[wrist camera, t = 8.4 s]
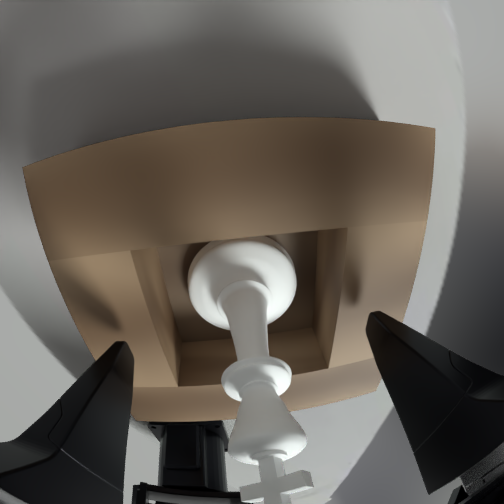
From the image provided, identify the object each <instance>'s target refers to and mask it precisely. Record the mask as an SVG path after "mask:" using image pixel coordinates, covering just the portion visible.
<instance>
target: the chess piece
mask: <svg viewBox="0 0 504 504" xmlns="http://www.w3.org/2000/svg"><path fill="white" fill-rule="evenodd" d="M296 286H297V280H296V274H295V268H294V264H293V261H292V259H291V257H290V256H289V254H288V253H287V251H286V250H285V249H284V248H283V247H282V246H281V245H280V244H278V243H277V242H276V241H274V240H272V239H270V238H268V237H266V236H254V237H245V238H235V239H226V240H217V241H211V242H210V243H208V244H207V245H205V246H204V247H203V248H202V249H201V250H200V251H199V252H198V253H197V255H196V256H195V257H194V259H193V261H192V263H191V265H190V268H189V272H188V292H189V297H190V300H191V303H192V305H193V307H194V308H195V310H196V311H197V312H198V314H199V315H200V316H201V317H202V318H204V319H205V320H206V321H208V322H209V323H211V324H213V325H215V326H217V327H220V328H223V329H226V330H230V331H231V335H232V338H233V342H234V346H235V350H236V355H237V359H238V361H237V362H235V363H233V364H231V365H230V366H229V367H228V368H227V369H226V370H225V371H224V372H223V374H222V377H221V383H222V386H223V388H224V390H225V392H226V394H227V395H228V396H230V397H231V398H233V399H235V400H237V401H241V403H240V406H239V409H238V412H237V418H236V422H235V425H234V428H233V431H232V433H231V436H230V439H229V443H228V453H229V454H230V456H231V457H232V458H234V459H235V460H237V461H240V462H242V463H246V464H255V465H259V471H260V477H261V482H259V483H255V484H251V485H247V486H242V487H240V496H241V502H247V503H255V502H260V501H264V503H265V504H291V500H290V495H289V494H293V493H296V492H300V491H303V490H306V489H310V488H313V487H314V486H313V482H312V478H311V474H310V472H308V471H304V470H300V471H297V472H294V473H291V474H288V475H285V470H284V465H283V461H285V460H287V459H289V458H292V457H294V456H295V455H297V454H298V453H300V452H301V451H302V450H303V449H304V448H305V446H306V444H307V436H306V434H305V432H304V431H303V429H302V428H301V426H300V425H299V423H298V422H297V421H296V420H295V419H294V418H293V416H292V415H291V414H290V412H289V411H288V409H287V407H286V405H285V403H284V402H283V401H282V400H281V398H280V397H279V396H280V395H281V394H282V393H284V392H285V391H286V390H287V389H288V387H289V385H290V383H291V376H292V372H291V369H290V367H289V365H288V364H287V363H286V362H284V361H283V360H281V359H278V358H275V357H270V356H269V349H268V333H267V325H268V324H270V323H272V322H273V321H275V320H276V319H278V318H279V317H280V316H281V315H282V314H283V313H284V312H285V311H286V310H287V309H288V307H289V306H290V304H291V303H292V301H293V298H294V296H295V292H296Z"/></svg>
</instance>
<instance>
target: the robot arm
mask: <svg viewBox="0 0 504 504" xmlns="http://www.w3.org/2000/svg"><path fill="white" fill-rule="evenodd" d="M365 331H366V336H367V339H368V341H369V344H370V347H371V350H372V353H373V356H374V359H375V362H376V365H377V368H378V370H379V372H380V374H381V376H382V379H383V381H384V383H385V385H386V388H387V390H388V392H389V394H390V397H391V399H392V401H393V404H394V406H395V408H396V411H397V413H398V415H399V418H400V420H401V423H402V425H403V428H404V430H405V432H406V435H407V438H408V440H409V443H410V445H411V448H412V450H413V452H414V456H415V458H416V461H417V464H418V467H419V470H420V472H421V475H422V478H423V481H424V484H425V487H426V490H427V492H428V494H429V495H430V494H431V493H433V492H435V491H437V490H438V489H440V488H442V487H443V486H445V485H447V484H448V483H450V482H452V481H453V480H455V479H456V478H458V477H459V479H460V481H461V483H462V485H460V486H459V487H457V488H456V489H454V490H453V492H452V494H451V497H450V499H449V502H448V504H504V376H503V375H500V374H497V373H495V372H493V371H491V370H488V369H486V368H484V367H482V366H480V365H477V364H475V363H473V362H471V361H469V360H467V359H465V358H463V357H462V356H460V355H458V354H456V353H454V352H453V351H451V350H448V349H447V348H445V347H444V346H442V345H440V344H438V343H437V342H435V341H433V340H431V339H430V338H428V337H426V336H424V335H423V334H421V333H419V332H417V331H416V330H414V329H412V328H410V327H408V326H407V325H405V324H403V323H401V322H400V321H398V320H396V319H394V318H392V317H391V316H389V315H387V314H385V313H383V312H382V311H374V312H371V313H370V314H369V316H368V320H367V324H366V330H365ZM133 380H134V356H133V354H132V352H131V350H130V348H129V345H128V343H127V342H126V341H116V342H114V343H113V344H112V345H111V346H110V347H109V348H108V349H107V350H106V351H105V352H104V353H103V354H102V355H101V356H100V357H99V358H98V359H97V360H96V361H95V362H94V363H93V364H92V365H91V366H90V367H89V368H88V369H87V370H86V371H85V372H84V373H83V375H82V376H81V377H80V378H79V379H78V380H77V381H76V382H75V383H74V384H73V385H72V386H71V387H70V388H69V389H68V390H67V391H66V392H65V393H64V394H63V395H62V396H61V398H60V399H58V400H57V401H56V402H55V404H54V405H53V406H52V407H51V408H50V409H49V410H48V411H47V412H46V413H45V414H43V415H42V416H41V417H40V418H39V419H38V420H37V421H36V422H35V423H34V424H32V425H31V426H30V427H29V428H28V429H27V430H26V431H24V432H23V433H22V434H21V435H20V436H19V437H17V438H16V439H14V440H12V441H8V442H2V443H0V504H123V488H124V471H125V458H126V447H127V437H128V429H129V421H130V413H131V406H132V398H133ZM148 428H149V429H150V430H151V431H152V433H153V434H154V435H155V437H156V438H157V439H158V440H159V442H160V455H159V472H158V486H156V485H149V484H147V483H144V482H140V485H133V494H132V495H133V496H132V504H151V503H149V500H154V501H156V503H155V504H253V503H247V502H241V496H240V492H228V490H227V477H226V465H225V452H226V451H228V443H229V438H228V435H227V432H226V429H225V426H224V423H223V421H221V420H214V421H192V422H155V421H150V422H148ZM160 501H161V502H160Z"/></svg>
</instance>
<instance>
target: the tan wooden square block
mask: <svg viewBox="0 0 504 504" xmlns="http://www.w3.org/2000/svg"><path fill="white" fill-rule="evenodd" d="M434 153H435V128H430V127H424V126H417V125H411V124H403V123H395V122H387V121H377V120H365V119H351V118H330V117H275V118H253V119H239V120H227V121H217V122H208V123H199V124H192V125H184V126H178V127H171V128H165V129H159V130H154V131H148V132H143V133H138V134H134V135H129V136H124V137H120V138H116V139H111V140H107V141H103V142H99V143H96V144H92V145H88V146H85V147H81V148H78V149H74V150H71V151H68V152H65V153H61V154H58V155H55V156H52V157H49V158H46V159H44V160H41V161H38V162H35V163H33V164H30V165H27V166H25V167H22V168H23V173H24V178H25V183H26V188H27V192H28V196H29V200H30V204H31V208H32V212H33V216H34V219H35V223H36V226H37V230H38V233H39V236H40V239H41V242H42V245H43V248H44V251H45V254H46V257H47V260H48V262H49V265H50V268H51V270H52V273H53V275H54V278H55V280H56V283H57V285H58V287H59V290H60V292H61V294H62V297H63V299H64V301H65V303H66V306H67V308H68V310H69V312H70V314H71V316H72V318H73V320H74V322H75V324H76V326H77V328H78V330H79V332H80V334H81V336H82V338H83V340H84V341H85V343H86V345H87V347H88V349H89V350H90V352H91V354H92V356H93V357H94V359H95V361H96V360H97V359H98V358H99V357H100V356H101V355H102V354H103V353H104V352H105V351H106V350H107V349H108V348H109V347H110V346H111V345H112V344H113V343H114V342H116V341H126V342H127V343H128V345H129V348H130V350H131V352H132V354H133V356H134V380H133V398H132V406H131V415H132V416H133V417H134V419H135V420H136V421H155V422H192V421H214V420H228V419H236V418H237V412H238V409H239V406H240V403H241V401H237V400H235V399H233V398H231V397H230V396H228V395H227V394H226V392H225V390H224V388H223V386H222V383H221V377H222V374H223V372H224V371H225V370H226V369H227V368H228V367H229V366H230V365H231V364H233V363H235V362H237V361H238V359H237V355H236V350H235V346H234V342H233V338H232V335H231V331H230V330H226V329H223V328H220V327H217V326H215V325H213V324H211V323H209V322H208V321H206V320H205V319H204V318H202V317H201V316H200V315H199V314H198V312H197V311H196V310H195V308H194V307H193V305H192V303H191V300H190V297H189V292H188V272H189V268H190V265H191V263H192V261H193V259H194V257H195V256H196V255H197V253H198V252H199V251H200V250H201V249H202V248H203V247H204V246H205V245H207V244H208V243H210V242H211V241H217V240H226V239H235V238H245V237H254V236H266V237H268V238H270V239H272V240H274V241H276V242H277V243H278V244H280V245H281V246H282V247H283V248H284V249H285V250H286V251H287V253H288V254H289V256H290V257H291V259H292V261H293V264H294V268H295V274H296V280H297V286H296V292H295V296H294V298H293V301H292V303H291V304H290V306H289V307H288V309H287V310H286V311H285V312H284V313H283V314H282V315H281V316H280V317H279V318H278V319H276V320H275V321H273V322H272V323H270V324H268V325H267V333H268V349H269V356H270V357H275V358H278V359H281V360H283V361H284V362H286V363H287V364H288V365H289V367H290V369H291V372H292V376H291V383H290V385H289V387H288V389H287V390H286V391H285V392H284V393H282V394H281V395H280V396H279V397H280V398H281V400H282V401H283V402H284V403H285V405H286V407H287V409H288V411H289V412H291V411H296V410H302V409H307V408H312V407H317V406H321V405H326V404H330V403H334V402H338V401H342V400H346V399H350V398H353V397H357V396H361V395H364V394H368V393H371V392H374V391H376V389H377V387H378V385H379V383H380V380H381V378H382V376H381V374H380V372H379V370H378V368H377V365H376V362H375V359H374V356H373V353H372V350H371V347H370V344H369V341H368V339H367V336H366V331H365V330H366V324H367V320H368V316H369V314H370V313H371V312H374V311H382V312H383V313H385V314H387V315H389V316H391V317H392V318H394V319H396V320H398V321H400V322H401V323H402V322H403V319H404V316H405V312H406V309H407V306H408V302H409V299H410V295H411V292H412V288H413V284H414V280H415V277H416V272H417V268H418V264H419V260H420V255H421V250H422V246H423V241H424V235H425V230H426V224H427V218H428V211H429V204H430V197H431V188H432V179H433V167H434Z"/></svg>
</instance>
